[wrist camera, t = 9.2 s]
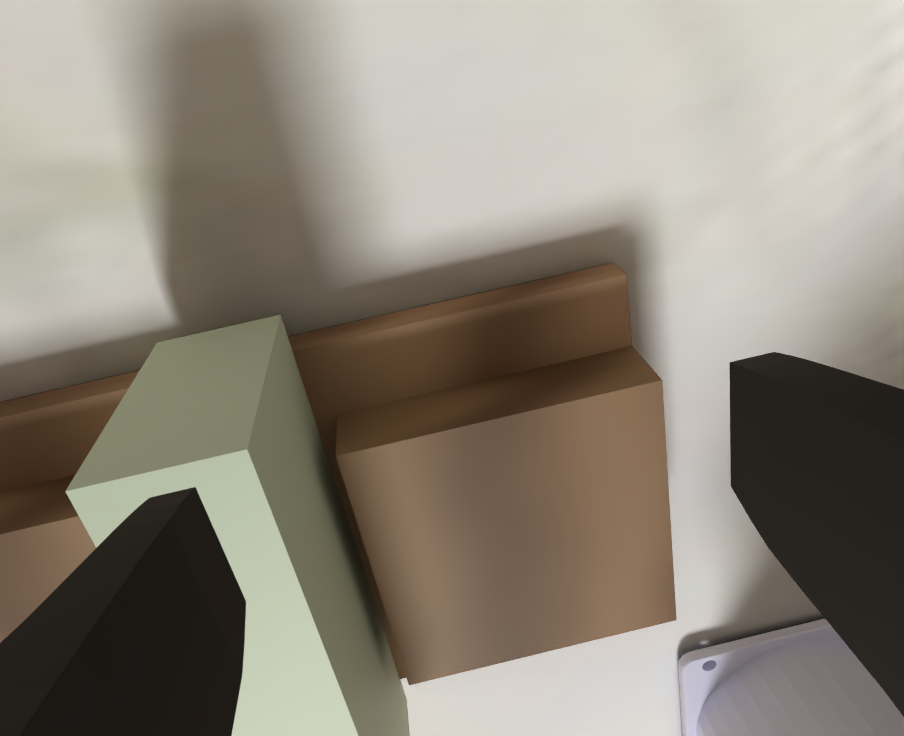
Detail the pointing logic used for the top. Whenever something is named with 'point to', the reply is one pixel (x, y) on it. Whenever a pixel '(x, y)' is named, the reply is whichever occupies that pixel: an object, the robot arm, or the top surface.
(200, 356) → the sage block
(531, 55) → the top surface
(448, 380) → the slotted plank
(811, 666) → the robot arm
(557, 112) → the top surface
